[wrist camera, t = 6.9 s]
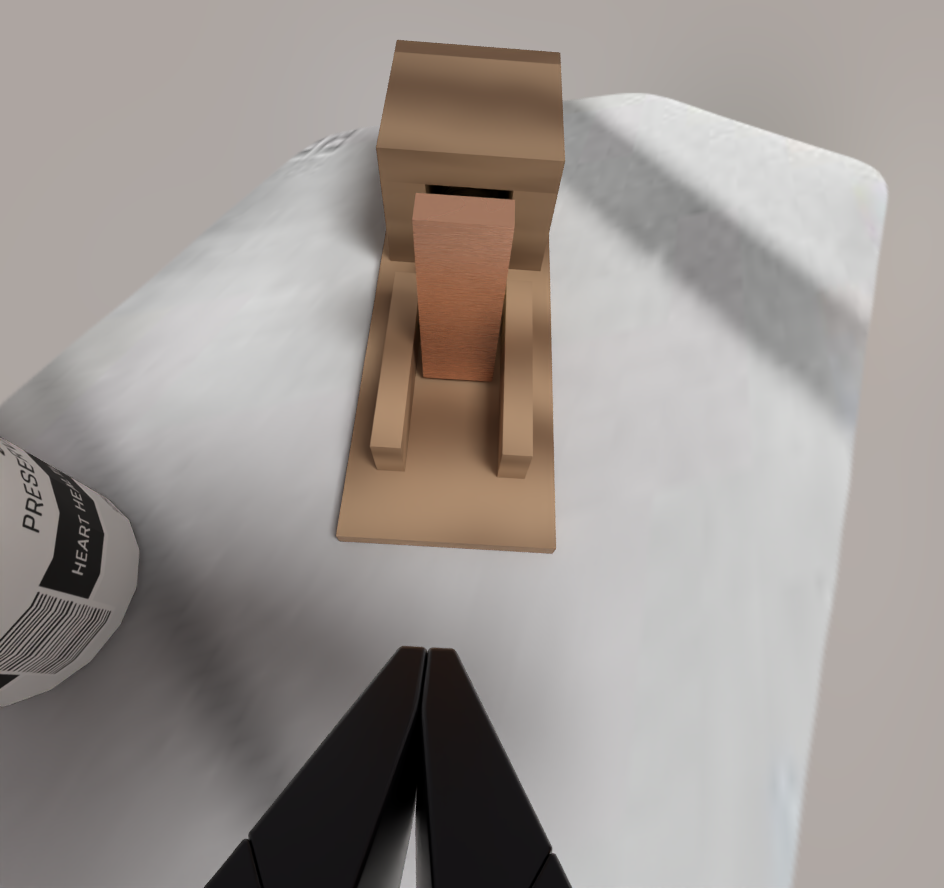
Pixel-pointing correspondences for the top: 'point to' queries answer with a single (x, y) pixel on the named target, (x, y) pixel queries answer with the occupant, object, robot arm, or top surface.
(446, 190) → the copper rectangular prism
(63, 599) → the supplement can
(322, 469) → the top surface
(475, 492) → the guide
